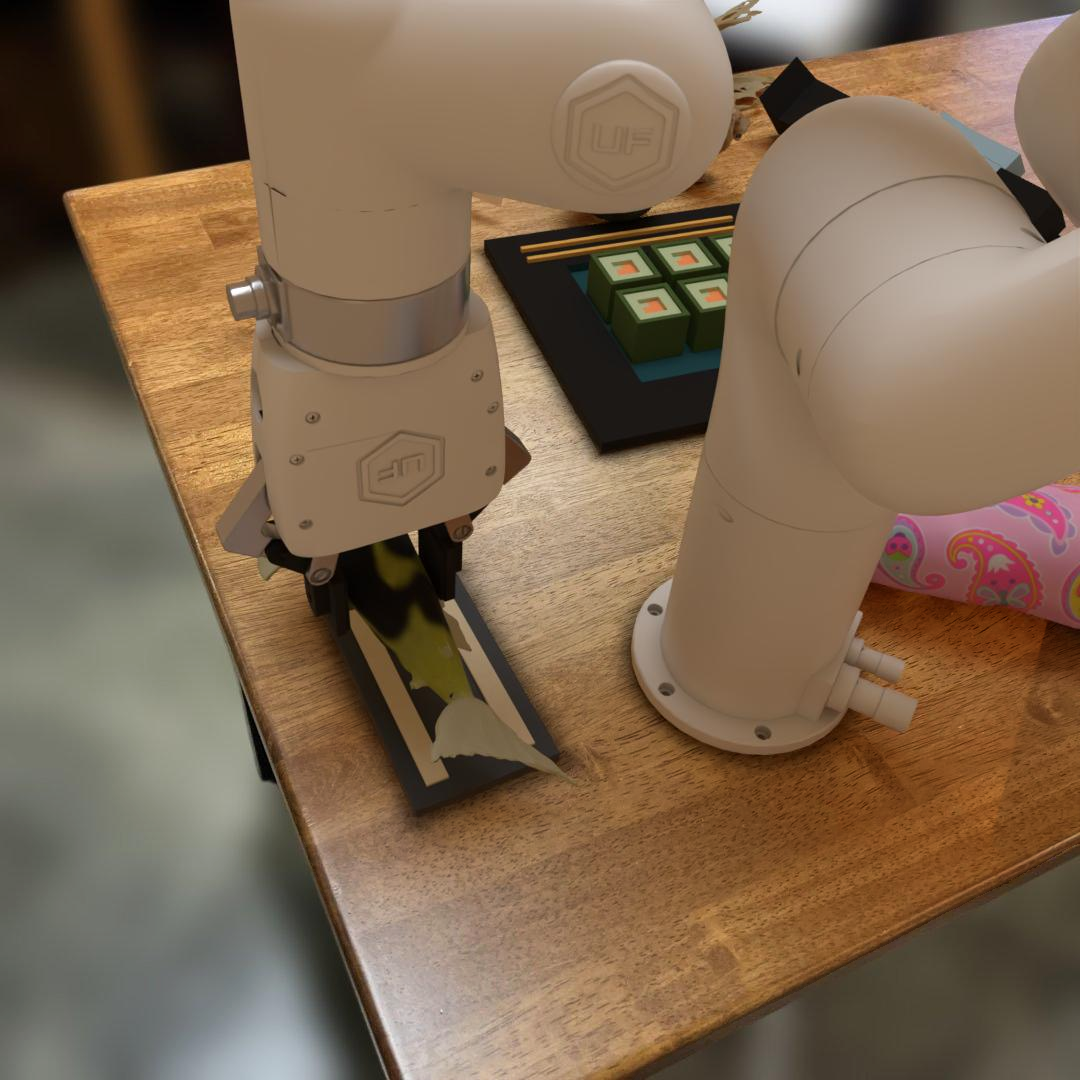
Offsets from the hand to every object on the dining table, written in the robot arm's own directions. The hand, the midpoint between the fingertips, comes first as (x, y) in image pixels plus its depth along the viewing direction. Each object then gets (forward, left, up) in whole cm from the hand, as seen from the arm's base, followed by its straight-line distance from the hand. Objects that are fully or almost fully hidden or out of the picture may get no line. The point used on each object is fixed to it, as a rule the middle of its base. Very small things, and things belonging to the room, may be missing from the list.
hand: (385, 594), depth 55 cm
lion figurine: (+8, -61, -8) cm, 62 cm away
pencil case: (-26, -20, -6) cm, 33 cm away
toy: (+2, -72, -5) cm, 73 cm away
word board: (-2, -1, -7) cm, 8 cm away
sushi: (-1, -40, -7) cm, 41 cm away
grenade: (+9, -46, -5) cm, 47 cm away
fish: (+1, +4, +4) cm, 6 cm away
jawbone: (+15, -73, -3) cm, 74 cm away
